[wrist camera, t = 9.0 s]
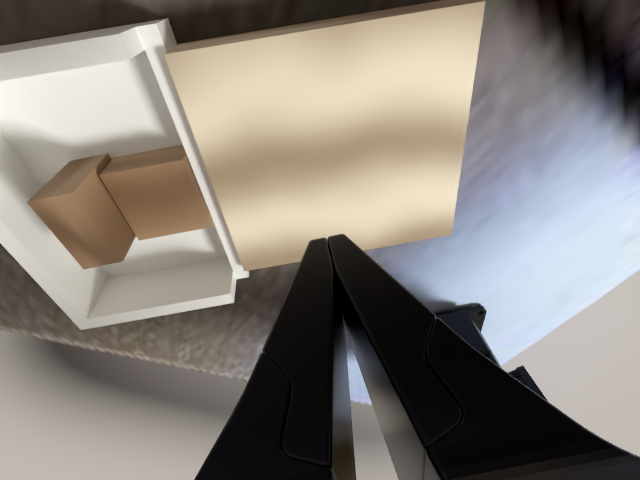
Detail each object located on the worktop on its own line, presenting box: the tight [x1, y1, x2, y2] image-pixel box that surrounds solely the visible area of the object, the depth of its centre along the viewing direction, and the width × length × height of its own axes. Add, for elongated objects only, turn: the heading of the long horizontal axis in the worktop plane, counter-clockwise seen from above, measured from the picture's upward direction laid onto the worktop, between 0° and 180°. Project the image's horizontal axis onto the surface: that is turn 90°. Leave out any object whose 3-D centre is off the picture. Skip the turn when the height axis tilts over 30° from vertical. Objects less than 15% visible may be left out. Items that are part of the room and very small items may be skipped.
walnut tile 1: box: [27, 153, 136, 270], centre depth 17 cm, size 4×4×2 cm
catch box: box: [0, 18, 249, 330], centre depth 18 cm, size 14×10×4 cm
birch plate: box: [164, 0, 485, 271], centre depth 18 cm, size 12×13×2 cm
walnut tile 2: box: [99, 145, 213, 240], centre depth 18 cm, size 4×4×2 cm
